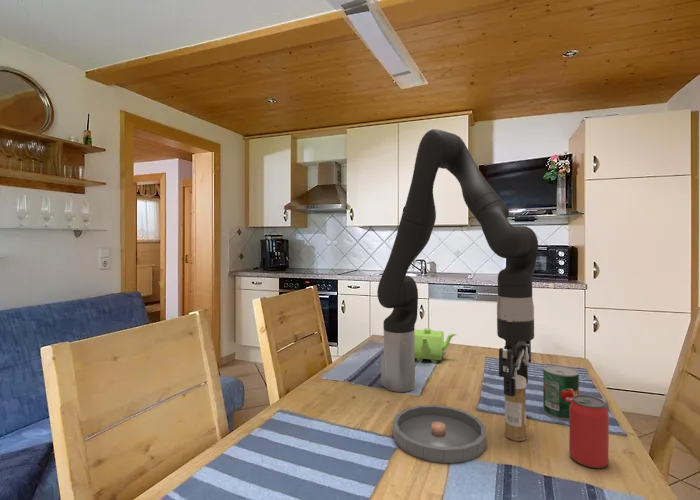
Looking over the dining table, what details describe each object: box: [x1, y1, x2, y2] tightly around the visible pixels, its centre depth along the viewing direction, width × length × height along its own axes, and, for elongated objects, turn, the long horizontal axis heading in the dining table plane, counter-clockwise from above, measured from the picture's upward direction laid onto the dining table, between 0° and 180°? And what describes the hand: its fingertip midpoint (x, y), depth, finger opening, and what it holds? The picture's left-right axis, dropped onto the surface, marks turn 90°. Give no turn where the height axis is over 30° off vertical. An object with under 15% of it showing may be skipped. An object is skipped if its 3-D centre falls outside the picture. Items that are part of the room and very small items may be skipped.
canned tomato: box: [542, 364, 580, 421], centre depth 96 cm, size 8×8×11 cm
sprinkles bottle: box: [504, 374, 527, 442], centre depth 85 cm, size 5×5×13 cm
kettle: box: [414, 328, 457, 364], centre depth 140 cm, size 15×14×11 cm
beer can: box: [568, 394, 610, 469], centre depth 76 cm, size 7×7×12 cm
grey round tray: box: [392, 404, 487, 464], centre depth 85 cm, size 20×20×3 cm
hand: (516, 389), depth 84 cm, fingers open, 8 cm apart
